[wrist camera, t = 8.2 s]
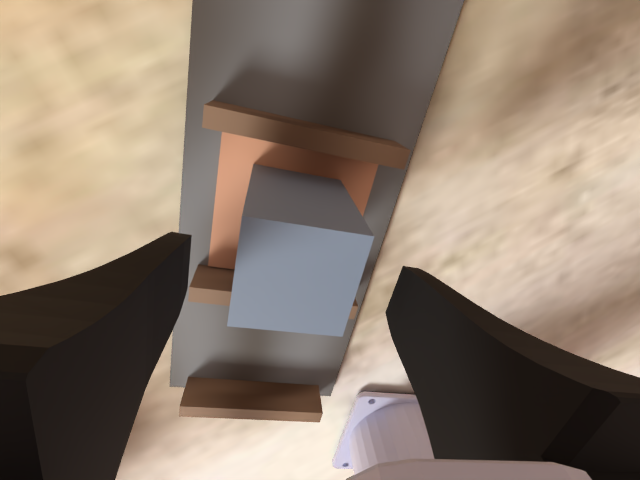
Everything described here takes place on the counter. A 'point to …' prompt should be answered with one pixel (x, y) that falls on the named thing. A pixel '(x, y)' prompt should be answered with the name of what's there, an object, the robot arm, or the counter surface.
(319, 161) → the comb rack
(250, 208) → the plug block
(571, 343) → the counter surface
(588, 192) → the counter surface
